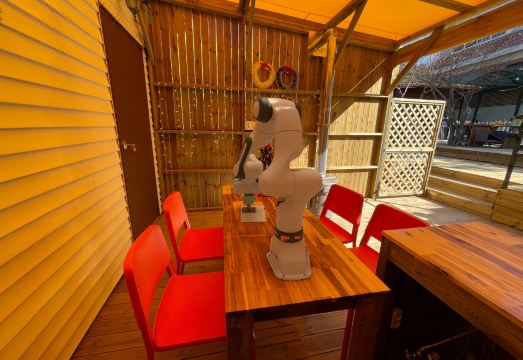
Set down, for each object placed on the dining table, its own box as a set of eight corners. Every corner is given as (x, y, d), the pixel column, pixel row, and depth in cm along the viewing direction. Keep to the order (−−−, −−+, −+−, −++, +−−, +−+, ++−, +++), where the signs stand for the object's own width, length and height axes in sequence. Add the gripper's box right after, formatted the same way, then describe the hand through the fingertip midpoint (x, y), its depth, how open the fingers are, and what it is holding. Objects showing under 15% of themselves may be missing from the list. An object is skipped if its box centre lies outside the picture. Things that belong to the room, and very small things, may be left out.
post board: (266, 223, 123) (266, 211, 121) (240, 224, 122) (240, 212, 120) (263, 207, 146) (263, 197, 144) (241, 208, 145) (241, 197, 143)
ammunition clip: (276, 208, 145) (277, 191, 142) (276, 207, 147) (276, 190, 144) (292, 207, 147) (292, 190, 143) (291, 206, 148) (291, 190, 145)
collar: (253, 203, 134) (253, 196, 132) (243, 204, 133) (243, 196, 132) (253, 200, 140) (253, 193, 139) (243, 200, 139) (243, 193, 138)
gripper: (231, 180, 129) (232, 201, 132) (265, 180, 130) (264, 201, 134) (232, 177, 135) (232, 198, 139) (264, 177, 136) (264, 197, 140)
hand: (248, 199), depth 136 cm, fingers closed on collar, 6 cm apart
